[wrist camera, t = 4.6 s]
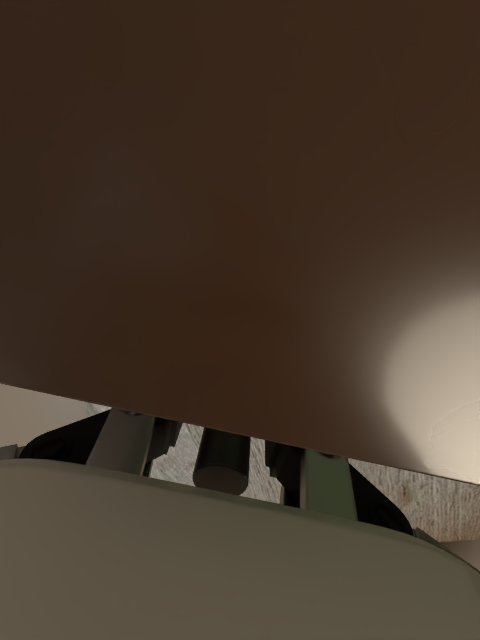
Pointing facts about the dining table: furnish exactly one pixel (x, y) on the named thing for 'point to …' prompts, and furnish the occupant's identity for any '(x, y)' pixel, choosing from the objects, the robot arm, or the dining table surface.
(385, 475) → the dining table surface
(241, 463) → the door
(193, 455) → the dining table surface
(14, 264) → the cabinet
